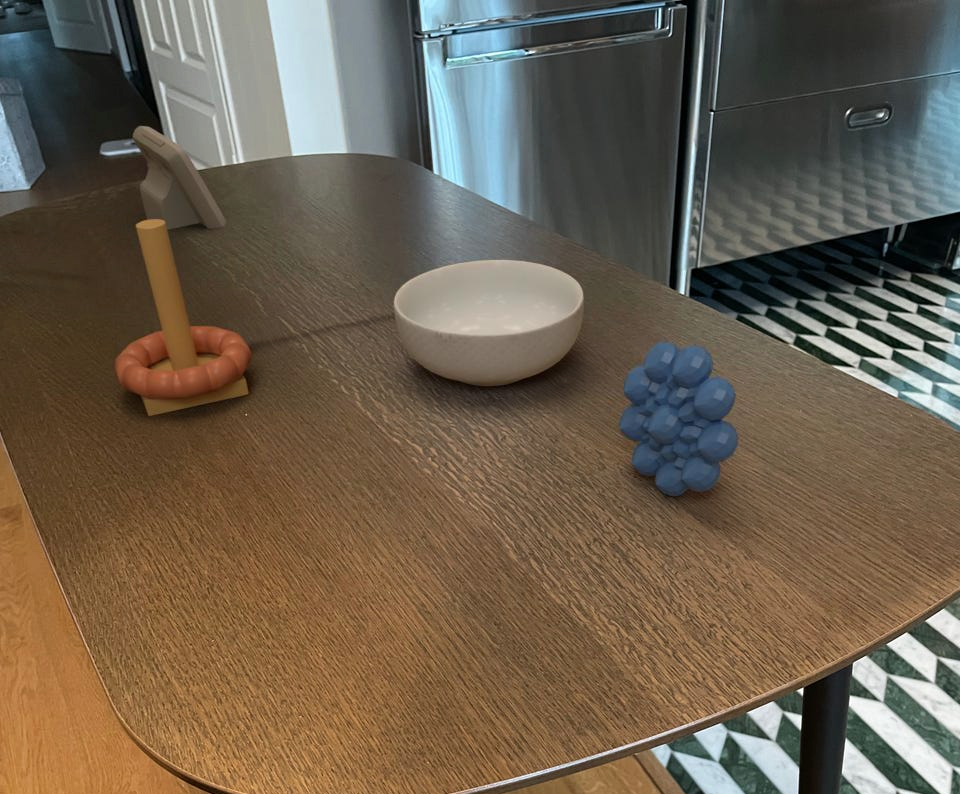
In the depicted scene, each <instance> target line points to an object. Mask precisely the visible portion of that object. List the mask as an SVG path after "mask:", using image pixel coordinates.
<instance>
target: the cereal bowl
mask: <svg viewBox="0 0 960 794" xmlns="http://www.w3.org/2000/svg"><path fill="white" fill-rule="evenodd" d="M584 308H585V295H584V291H583V288H582V286H581V285H580V283H579V282H578V280H576V279H575V278H574V277H572V276H571V275H570V274H568V273H566V272H564V271H562V270H560V269H558V268H555V267H552V266H549V265H546V264H541V263H537V262H530V261H523V260H511V259H483V260H473V261H466V262H460V263H459V262H457V263H454V264H448V265H445V266H441V267H438V268H434V269H431V270H429V271H426V272H424V273H421V274H419V275H416V276H414V277H413V278H411V279H409V280H408V281H406V282H405V283H404V284H402V285H401V286H400V288H399V289H398V290H397V292H396V293H395V296H394V298H393V311H394V312H393V313H394V315H393V316H394V319H395V320H394V321H395V324H396V330H397V333H398V334H399V335H398V336H399V339H400V340H401V344H402V345H403V347H404V349H405V350H406V352H407V353H408V355H409V357H411V358H412V359H413V360H414V361H416V362H417V364H419V365H420V366H422V367H423V369H426V370H428V371H430V372H431V373H433V374H435V375H437V376H440V377H442V378H445V379H448V380H453V381H458V382H459V383H460V382H461V383H464V384H466V385H470V386H476V387H499V386H505V385H510V384H513V383H517V382H519V381H522V380H523V379H527V378H530V377H534V376H535V375H538V374H540V373H542V372H544V371H546V370H548V369H550V368H551V367H553V366H554V365H556V364H557V363H559V362H560V361H561V360H562V359H563V358H564V357H565V356H566V355H567V354H568V353H569V352H570V350H571V349H572V347H573V346H574V344H575V343H576V341H577V338H578V337H579V335H580V331H581V328H582V324H583V320H584V311H585V310H584Z"/></svg>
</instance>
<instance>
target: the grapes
mask: <svg viewBox="0 0 960 794" xmlns="http://www.w3.org/2000/svg"><path fill="white" fill-rule="evenodd" d="M713 367H714V361H713V357H712V355H711V353H710V352H709V351H708V350H707V349H706V348H705V347H703V346H700V345H697V344H693V345H692V344H691V345H688V346H684V348H683V349H680V348H679V347H678V346H677V345H676V344H675V343H673V342H671V341H667V340H665V341H659V342H656V343H655V344H654V345H652V346H651V347H650V349H648V351H647V353H646V355H645V357H644V361H643V364H642V365H641V364H640V365H636V366H635V367H633V368H632V369H631V370H630V371H629V372H628V373H627V376H626V377H625V379H624V381H623V387H622V388H623V390H622V391H623V394H624V396H625V398H626V399H627V400H628V401H629V402H630V403H631V404H629V405H628V406H627V407H626V408H624V410H623V412H622V413H621V416H620V418H619V422H618V429H619V432H621V434H622V435H623V436H624V437H625V438H626V439H627V440H629V441H632V442H634V443H637V442H639V443H637V444H636V446H635V448H634V450H633V452H632V454H631V460H630V461H631V466H632V467H633V469H634V470H635V471H636V472H637V473H638V474H639V475H642V476H645V477H649V478H650V477H655V479H654V481H655V486H656V488H657V489H658V490H659V491H660V493H662V494H663V493H664V494H663V495H666V494H667V495H666V496H669V497H671V496H672V497H679V495H680V496H682V495H683V494H684V493H686V492H687V491H688V490H691V491H694V492H696V493H701V492H702V493H703V492H707V491H709V490H710V489H712V488H713V487H714V486H716V484H717V482H718V481H719V479H720V478H721V477H720V476H721V471H722V468H721V464H720V463H722V462H725V461H727V460H728V459H729V458H731V457H732V456H733V455H734V453H735V452H736V449H737V447H738V445H739V434H738V432H737V429H736V428H735V427H734V425H732V424H731V423H730V422H728V421H725V420H723V419H724V418H725V417H727V416H728V415H729V414H730V413H731V411H732V410H733V407H734V405H735V403H736V399H737V398H736V397H737V393H736V390H735V387H734V385H733V384H732V383H731V382H730V381H729V379H726V378H723V377H720V376H713V377H711V374H712V372H713Z"/></svg>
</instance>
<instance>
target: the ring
mask: <svg viewBox="0 0 960 794" xmlns="http://www.w3.org/2000/svg"><path fill="white" fill-rule="evenodd" d="M190 329H191V334H192V338H193V342H194V346H195V351H196V353H214V354H217V355H220V357H218V358H216V359H214V360H212V361H210V362H208V363H206V364H204V365H200V366H195V367H191V368H186V369H181V370H151V369H148V368H147V367H148V366H149V365H152V364H154V363H156V362H158V361H160V360H162V359H164V358H167V357H169V355H168V351H167V347H166V343H165V339H164V335H163V331H162V330H159V331H155V332H153V333H150V334H148V335H145V336H143V337H141V338H139V339H137V340H135V341H132V342H131V343H129V344H128V345H126V347H125V348H124V349H123V351H122V352H120V354H119V355H118V356H117V357H116V358H115V361H114V366H113V367H114V371H115V374H116V376H117V379H118V382H119V384H120V386H121V388H123V389H124V390H126V391H128V392H131V393H134V394H136V395H139V396H140V397H141V396H144V397H147V398H151V399H184V398H189V397H194V396H198V395H203V394H207V393H212V392H215V391H217V390H219V389H221V388H223V387H225V386H227V385H229V384H230V383H232V382H234V381H236V380H238V379H239V378H240V377H241V376H242V374H243V375H244V373H245V371H246V370H247V368H249V366H250V365H251V362H252V359H253V355H252V351H251V349H250V347H249V346H248V344H247V343H246V341H245V339H244V338H243V337H242V336H241V335H240V334H239V333H238V332H235V331H232V330H228V329H224V328H222V327H218V326H213V325H190Z"/></svg>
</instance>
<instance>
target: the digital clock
mask: <svg viewBox="0 0 960 794" xmlns="http://www.w3.org/2000/svg"><path fill="white" fill-rule="evenodd" d="M132 140H133V141H134V143H135V145H136V146H137V148H138V150H139V151H140V153H141V155H142V156H143V158H144V159H145V161H146V163H147V164H146V167H147V168H148V169H147V173H146V177H145V179H144V180H143V181H142V182H141V183H140V185H139V192H140V197H141V201H142V205H143V207H144V208H143V209H144V213H145V216H146V217H145V218H146V220H150V219H160V220H164V221H165V224H166V228H167V231H169V230H174V229H177V228H183V227H188V226H191V225H197V224H201V225H203V226H204V227H206V228H207V229H208V230H209V229H210V230H211V229H221V228H224V227H225V226H226V225H227V224H228V223H227V220H226V218H225V216H224V215H223V212H222V211H221V209H220V208H219V206H218V204H217V202H216V201H215V199H214V197H213V196H212V193H211V192H210V190H209V189H208V187H207V185H206V183H205V182H204V179H202V177H201V175H200V173H199V171H198V170H197V168H196V166H195V165H194V163H193V161H192V159H191V157H190V156H189V154H188V153H187V151H186V150H185V149H184V148H183V147H182V146H181V145H179V144H177V143H176V142H174V141H173V140H172V139H170V138H168V137H167V136H165V135H163V134H162V133H160V132H158V131H157V130H156V129H153V128H152V127H150V126H146V125H139V126H137V127H136V128H135V129H134V131H133V133H132Z"/></svg>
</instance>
